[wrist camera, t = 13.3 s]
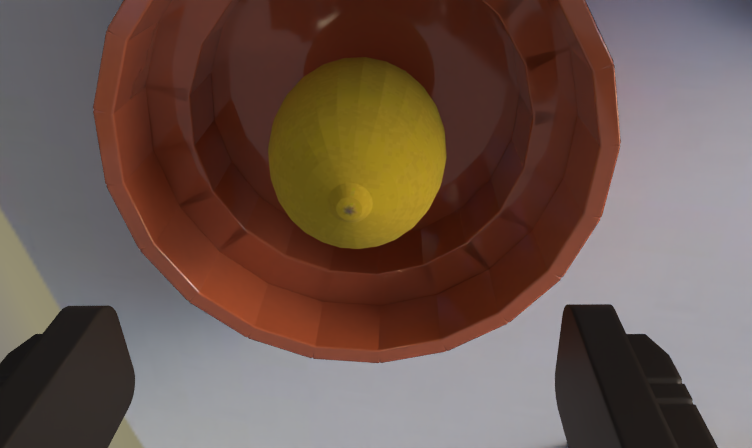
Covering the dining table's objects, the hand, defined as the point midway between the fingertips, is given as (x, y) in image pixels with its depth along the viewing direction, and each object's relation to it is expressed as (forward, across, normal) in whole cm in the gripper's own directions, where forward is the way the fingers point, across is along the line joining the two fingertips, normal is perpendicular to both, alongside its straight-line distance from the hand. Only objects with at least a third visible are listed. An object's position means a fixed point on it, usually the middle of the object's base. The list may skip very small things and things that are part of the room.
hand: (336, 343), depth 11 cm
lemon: (+14, 0, 0) cm, 14 cm away
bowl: (+14, 0, 0) cm, 14 cm away
